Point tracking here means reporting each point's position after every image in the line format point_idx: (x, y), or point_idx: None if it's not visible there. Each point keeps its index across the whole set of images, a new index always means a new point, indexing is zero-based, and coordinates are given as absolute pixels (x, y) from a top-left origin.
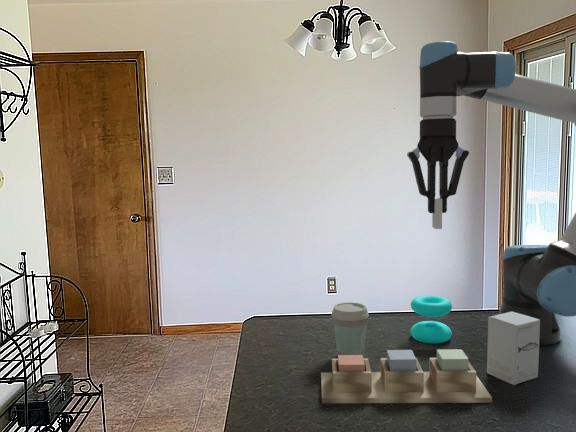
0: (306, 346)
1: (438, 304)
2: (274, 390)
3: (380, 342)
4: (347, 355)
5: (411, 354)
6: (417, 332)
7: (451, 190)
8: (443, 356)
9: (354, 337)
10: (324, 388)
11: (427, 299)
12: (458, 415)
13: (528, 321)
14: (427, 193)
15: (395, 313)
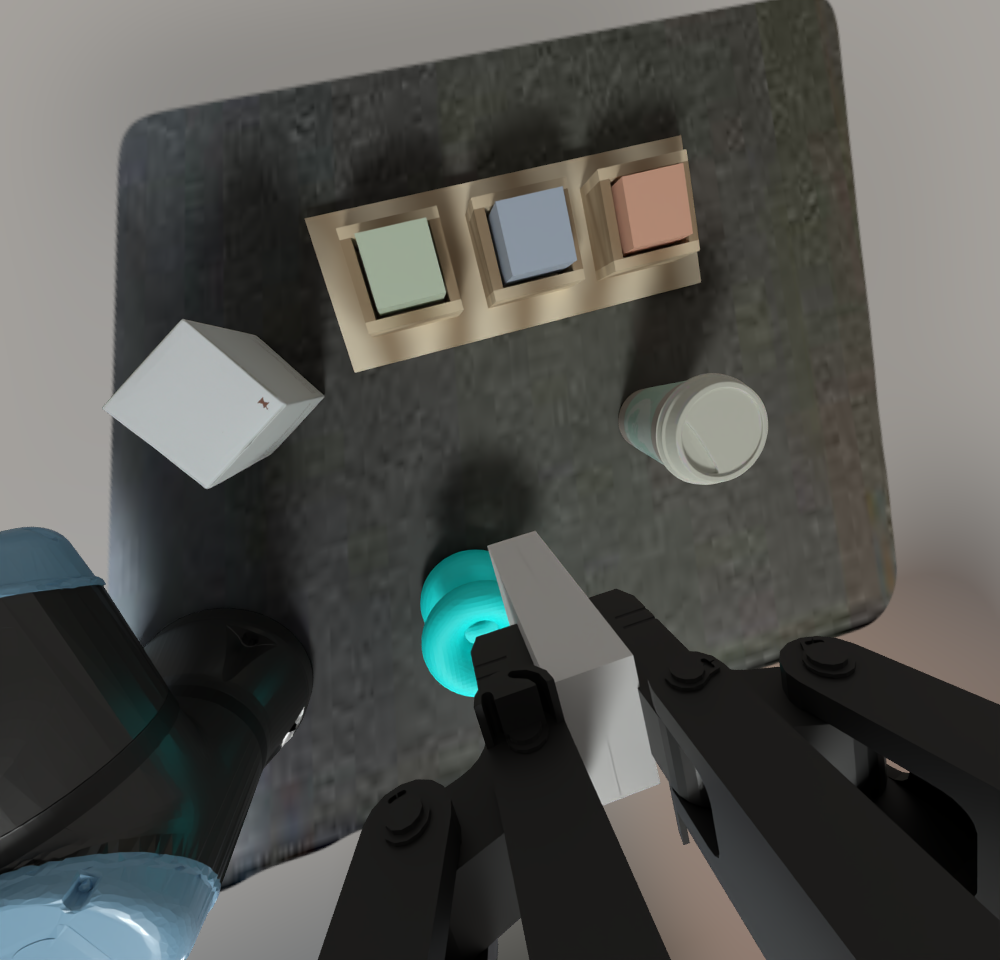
0: None
1: (461, 608)
2: (778, 189)
3: (588, 529)
4: (669, 235)
5: (510, 237)
6: None
7: (436, 839)
8: (424, 240)
9: (664, 386)
10: None
11: None
12: (380, 135)
13: (142, 374)
14: (771, 704)
15: None
